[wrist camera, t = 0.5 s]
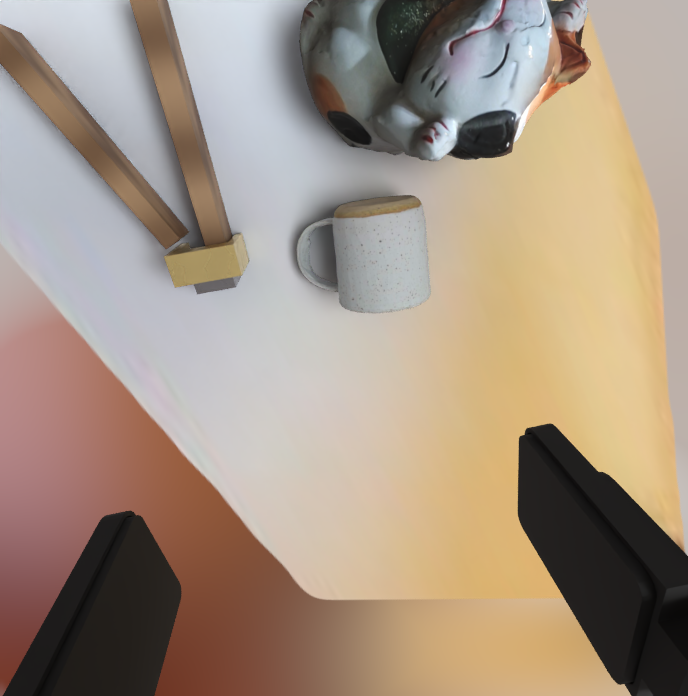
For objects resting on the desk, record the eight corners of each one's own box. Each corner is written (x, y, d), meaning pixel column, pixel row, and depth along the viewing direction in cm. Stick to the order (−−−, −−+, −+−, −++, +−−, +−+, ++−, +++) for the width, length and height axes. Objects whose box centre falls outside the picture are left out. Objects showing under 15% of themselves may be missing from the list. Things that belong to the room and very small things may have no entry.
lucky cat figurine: (443, -116, 26) (671, -191, 17) (468, 79, 35) (626, 100, 26) (261, 11, 25) (402, 5, 15) (336, 181, 34) (453, 241, 24)
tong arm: (7, 47, 27) (-25, 35, 25) (21, 33, 27) (-10, 19, 25) (176, 241, 34) (166, 249, 31) (189, 232, 34) (179, 238, 31)
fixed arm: (144, 4, 27) (125, -14, 24) (167, 0, 27) (151, -18, 24) (220, 263, 35) (213, 272, 32) (238, 259, 35) (233, 269, 32)
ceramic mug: (411, 188, 34) (437, 196, 27) (417, 280, 38) (441, 309, 31) (288, 208, 34) (283, 221, 27) (306, 298, 38) (305, 331, 31)
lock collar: (181, 243, 34) (164, 256, 30) (241, 233, 34) (233, 244, 30) (190, 271, 35) (174, 287, 31) (249, 260, 35) (241, 275, 31)
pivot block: (195, 249, 35) (185, 258, 32) (231, 243, 35) (225, 251, 32) (205, 283, 36) (197, 294, 33) (241, 276, 36) (235, 287, 33)
